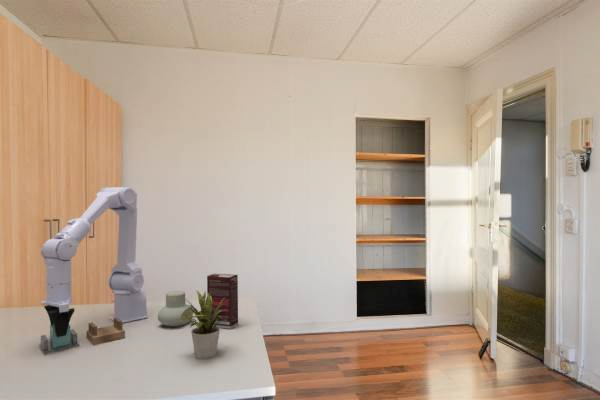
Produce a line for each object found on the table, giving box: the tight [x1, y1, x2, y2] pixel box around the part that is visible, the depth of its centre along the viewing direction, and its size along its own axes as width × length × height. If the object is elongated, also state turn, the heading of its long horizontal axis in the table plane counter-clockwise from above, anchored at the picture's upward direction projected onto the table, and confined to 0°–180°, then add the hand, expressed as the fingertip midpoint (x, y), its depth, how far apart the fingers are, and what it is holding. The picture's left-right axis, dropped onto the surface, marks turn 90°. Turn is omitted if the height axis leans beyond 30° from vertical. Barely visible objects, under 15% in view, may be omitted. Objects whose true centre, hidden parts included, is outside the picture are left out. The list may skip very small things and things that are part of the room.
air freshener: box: [157, 290, 194, 327], centre depth 119 cm, size 11×8×10 cm
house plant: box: [176, 290, 228, 360], centre depth 95 cm, size 14×14×16 cm
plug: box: [49, 323, 71, 348], centre depth 101 cm, size 4×4×6 cm
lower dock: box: [38, 328, 80, 355], centre depth 101 cm, size 8×8×3 cm
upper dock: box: [86, 317, 126, 346], centre depth 107 cm, size 8×8×4 cm
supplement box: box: [206, 272, 239, 330], centre depth 117 cm, size 9×5×16 cm, turn 71°
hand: (59, 333), depth 101 cm, fingers open, 5 cm apart
